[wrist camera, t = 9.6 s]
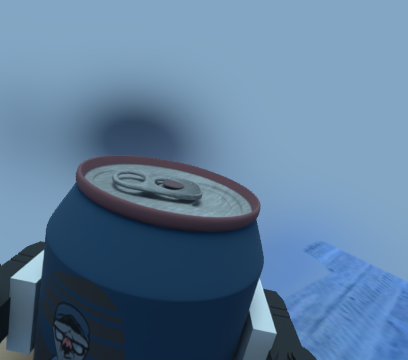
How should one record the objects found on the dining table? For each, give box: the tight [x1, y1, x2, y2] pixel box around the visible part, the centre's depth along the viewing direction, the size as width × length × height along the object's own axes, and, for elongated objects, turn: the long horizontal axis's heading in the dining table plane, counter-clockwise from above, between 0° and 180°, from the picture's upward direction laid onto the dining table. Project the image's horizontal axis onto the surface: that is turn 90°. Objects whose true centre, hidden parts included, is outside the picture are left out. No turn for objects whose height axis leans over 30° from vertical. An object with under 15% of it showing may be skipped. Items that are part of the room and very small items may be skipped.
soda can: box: [33, 155, 264, 360], centre depth 10 cm, size 7×7×12 cm
